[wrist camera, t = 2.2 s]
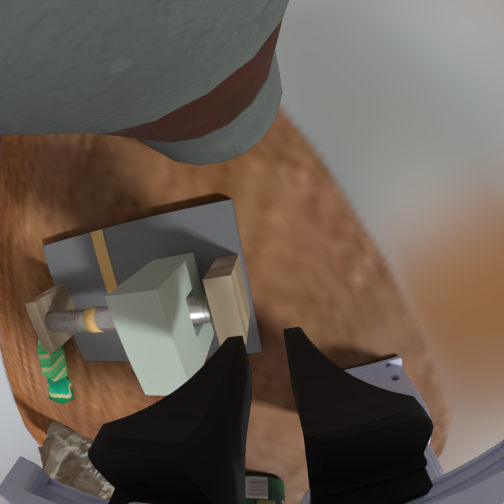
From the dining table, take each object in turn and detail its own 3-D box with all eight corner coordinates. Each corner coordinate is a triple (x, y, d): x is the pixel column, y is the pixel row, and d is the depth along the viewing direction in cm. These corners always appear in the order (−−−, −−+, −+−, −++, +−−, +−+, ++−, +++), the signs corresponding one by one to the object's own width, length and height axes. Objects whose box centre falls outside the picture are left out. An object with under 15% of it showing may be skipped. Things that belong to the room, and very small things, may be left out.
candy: (33, 299, 22) (27, 320, 19) (62, 301, 24) (59, 322, 21) (48, 381, 25) (48, 405, 22) (72, 382, 27) (74, 406, 24)
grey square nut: (193, 252, 19) (156, 289, 12) (214, 333, 20) (194, 395, 13) (153, 259, 19) (104, 296, 12) (176, 337, 20) (145, 394, 14)
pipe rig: (232, 198, 20) (220, 204, 14) (261, 345, 23) (260, 389, 17) (49, 244, 21) (9, 259, 16) (88, 355, 24) (61, 386, 19)
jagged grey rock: (46, 411, 28) (4, 477, 14) (143, 462, 29) (117, 542, 15) (57, 448, 33) (29, 501, 18) (134, 487, 34) (115, 546, 20)
